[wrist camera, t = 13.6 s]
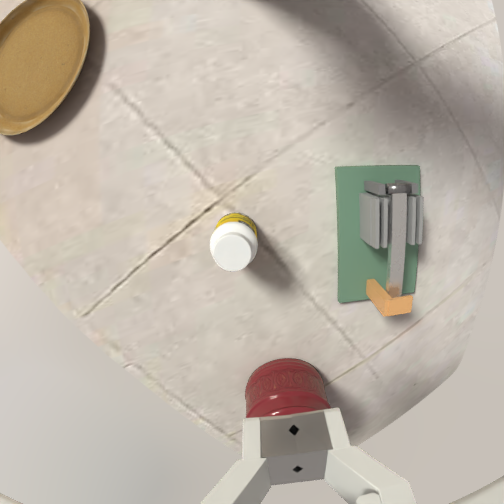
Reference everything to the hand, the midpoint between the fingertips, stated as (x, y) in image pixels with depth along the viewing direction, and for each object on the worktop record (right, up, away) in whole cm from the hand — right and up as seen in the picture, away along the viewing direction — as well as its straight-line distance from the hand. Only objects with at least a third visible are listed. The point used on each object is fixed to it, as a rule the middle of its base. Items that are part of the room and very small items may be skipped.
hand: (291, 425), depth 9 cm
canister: (+4, -17, +41) cm, 45 cm away
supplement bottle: (-3, +8, +33) cm, 34 cm away
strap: (+17, +6, +29) cm, 34 cm away
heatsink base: (+17, +8, +33) cm, 38 cm away
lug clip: (+17, +1, +35) cm, 39 cm away
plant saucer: (-35, +35, +25) cm, 56 cm away
